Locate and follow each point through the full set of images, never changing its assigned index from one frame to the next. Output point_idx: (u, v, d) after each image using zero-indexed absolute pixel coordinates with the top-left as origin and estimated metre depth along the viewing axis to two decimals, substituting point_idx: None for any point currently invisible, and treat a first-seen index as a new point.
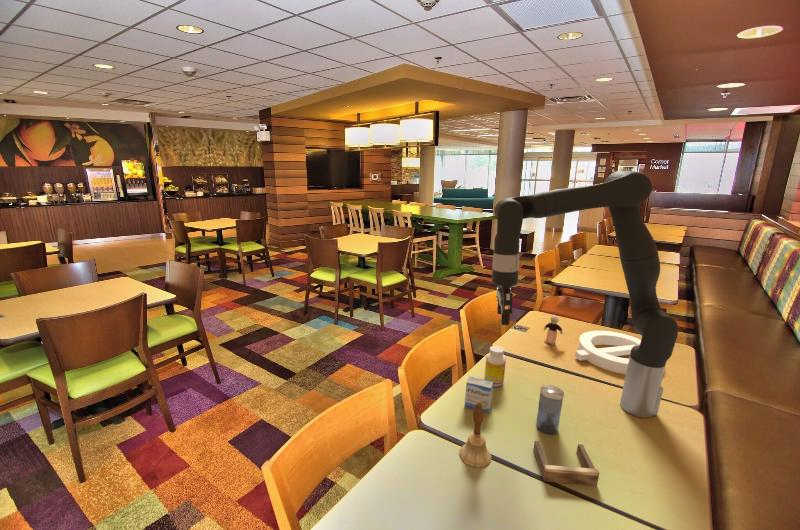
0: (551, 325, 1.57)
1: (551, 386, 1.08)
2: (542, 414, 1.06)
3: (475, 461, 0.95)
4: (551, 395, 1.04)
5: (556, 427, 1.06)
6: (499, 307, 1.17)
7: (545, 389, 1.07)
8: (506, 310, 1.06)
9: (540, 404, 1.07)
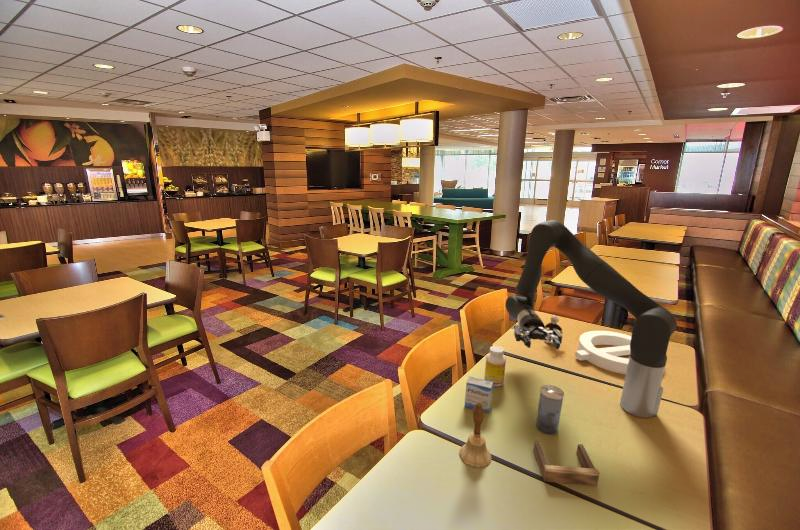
0: (551, 325, 1.57)
1: (551, 386, 1.08)
2: (542, 414, 1.06)
3: (475, 461, 0.95)
4: (551, 395, 1.04)
5: (556, 427, 1.06)
6: (554, 344, 1.17)
7: (545, 389, 1.07)
8: None
9: (540, 404, 1.07)
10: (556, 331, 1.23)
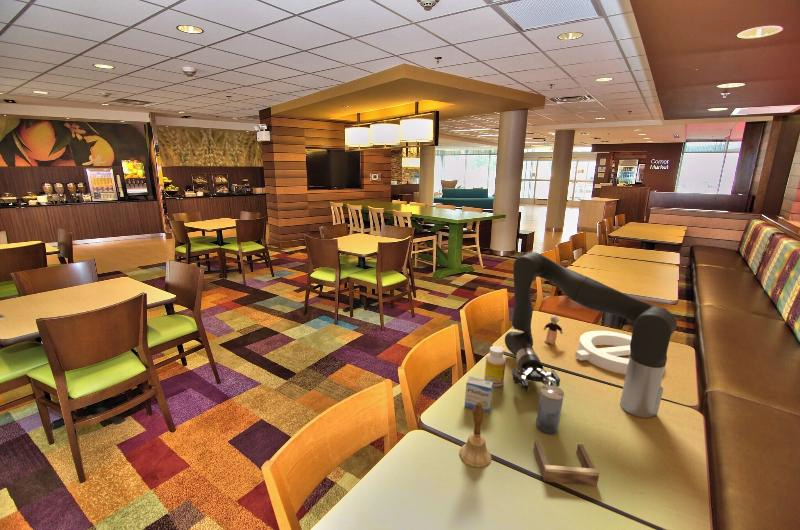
0: (551, 325, 1.57)
1: (551, 386, 1.08)
2: (542, 414, 1.06)
3: (475, 461, 0.95)
4: (551, 395, 1.04)
5: (556, 427, 1.06)
6: None
7: (545, 389, 1.07)
8: None
9: (540, 404, 1.07)
10: (554, 373, 1.23)
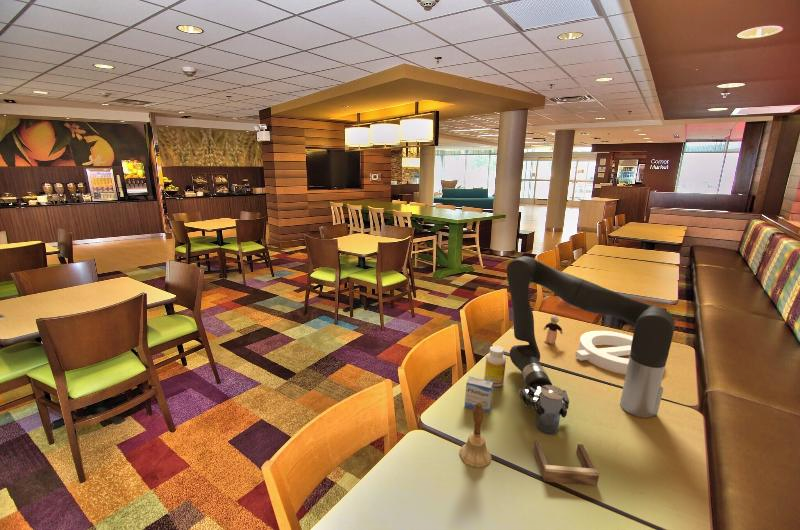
0: (551, 325, 1.57)
1: (551, 386, 1.08)
2: (542, 414, 1.06)
3: (475, 461, 0.95)
4: (551, 395, 1.04)
5: (556, 427, 1.06)
6: None
7: (545, 389, 1.07)
8: None
9: (540, 404, 1.07)
10: (564, 394, 1.12)
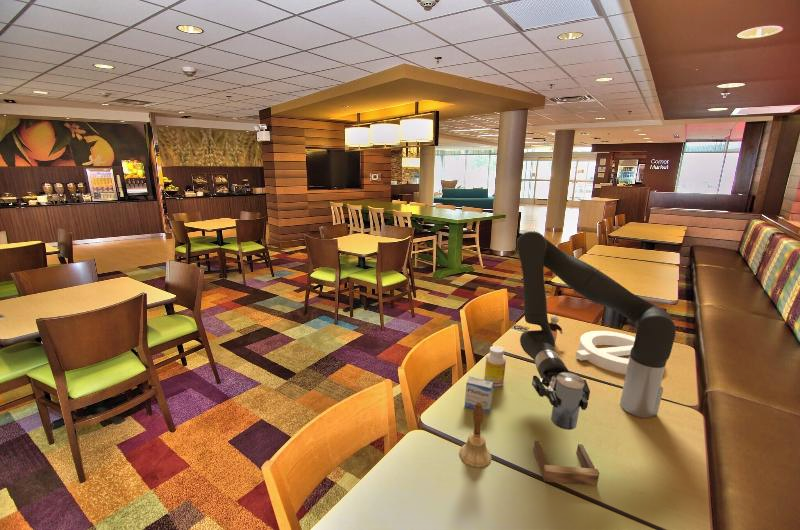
0: (551, 325, 1.57)
1: (569, 374, 0.94)
2: (559, 405, 0.92)
3: (475, 461, 0.95)
4: (570, 384, 0.90)
5: (575, 421, 0.92)
6: None
7: (562, 377, 0.92)
8: None
9: (556, 394, 0.92)
10: None
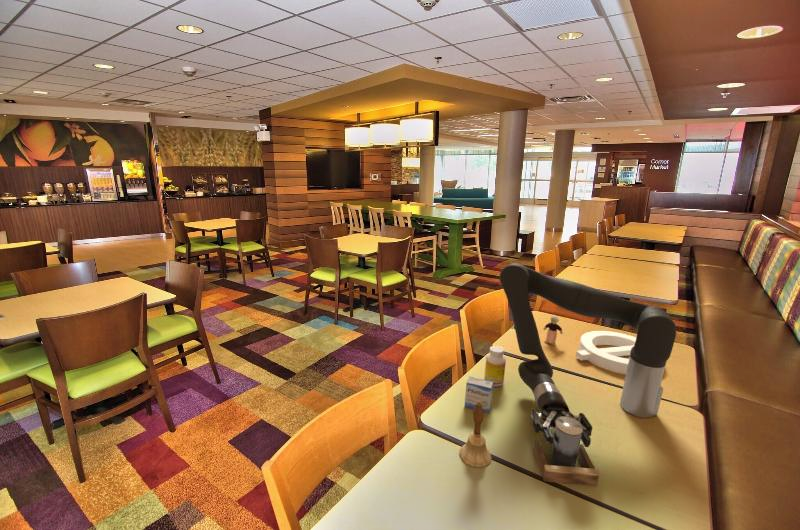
0: (551, 325, 1.57)
1: (568, 418, 0.95)
2: (558, 450, 0.93)
3: (475, 461, 0.95)
4: (568, 430, 0.91)
5: (574, 466, 0.93)
6: (582, 439, 0.94)
7: (561, 422, 0.94)
8: None
9: (555, 439, 0.94)
10: (584, 418, 0.99)
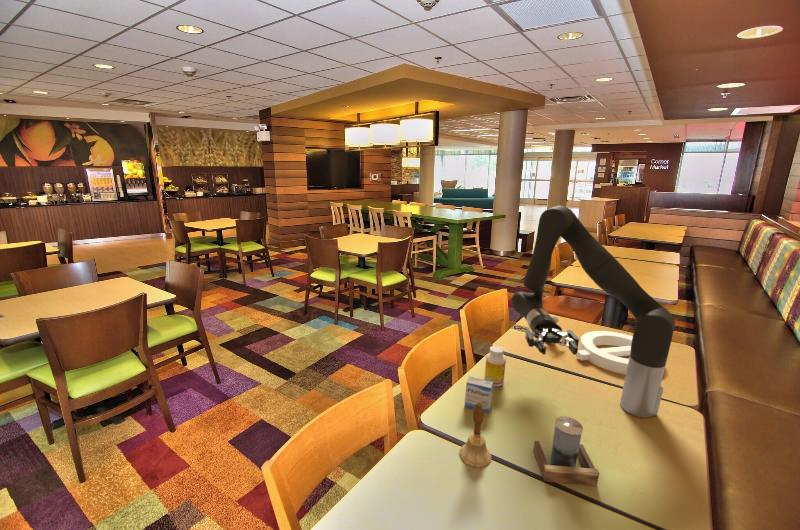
0: None
1: (567, 418, 0.95)
2: (558, 450, 0.93)
3: (475, 461, 0.95)
4: (568, 430, 0.91)
5: (574, 465, 0.93)
6: (570, 349, 1.07)
7: (561, 422, 0.94)
8: None
9: (555, 439, 0.94)
10: (571, 333, 1.12)
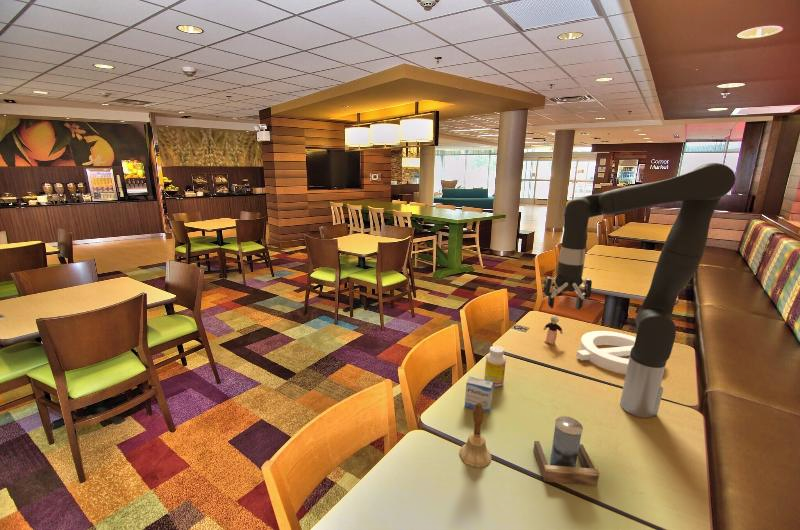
0: (551, 325, 1.57)
1: (567, 418, 0.95)
2: (558, 450, 0.93)
3: (475, 461, 0.95)
4: (568, 430, 0.91)
5: (574, 465, 0.93)
6: (576, 301, 1.24)
7: (561, 422, 0.94)
8: (544, 291, 1.23)
9: (555, 439, 0.94)
10: (589, 286, 1.20)
